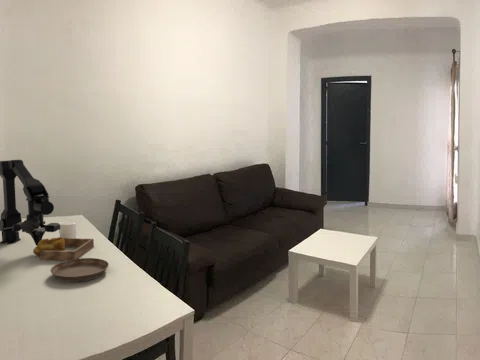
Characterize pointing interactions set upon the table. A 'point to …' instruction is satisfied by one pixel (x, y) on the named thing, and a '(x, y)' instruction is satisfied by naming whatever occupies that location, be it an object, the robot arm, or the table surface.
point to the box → (69, 255)
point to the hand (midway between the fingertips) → (37, 245)
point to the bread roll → (50, 245)
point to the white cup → (67, 229)
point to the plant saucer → (79, 269)
